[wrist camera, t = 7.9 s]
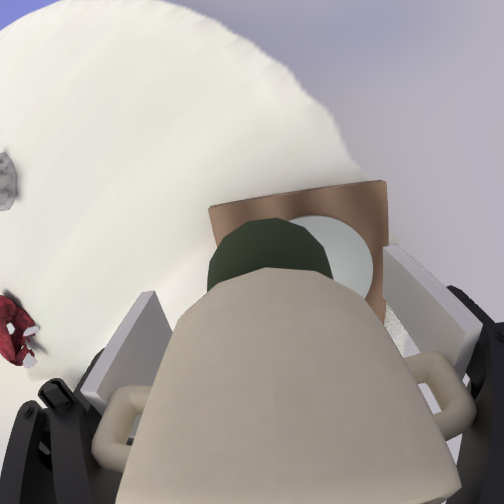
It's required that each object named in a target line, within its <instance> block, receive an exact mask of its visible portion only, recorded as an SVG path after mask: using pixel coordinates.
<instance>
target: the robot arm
mask: <svg viewBox="0 0 504 504" xmlns="http://www.w3.org/2000/svg"><path fill="white" fill-rule="evenodd" d="M383 298H384V299H385V300H386V302H387V303H388V305H389V306H390V307H391V309H392V310H393V312H394V313H395V315H396V316H397V318H398V319H399V320H400V322H401V323H402V325H403V326H404V328H405V329H406V331H407V332H408V334H409V335H410V337H411V338H412V340H413V341H414V343H415V344H416V346H417V347H418V349H419V351H420V352H421V353H423V352H426V351H439V352H440V353H441V354H442V355H444V356H445V357H446V358H447V359H448V360H449V362H450V363H451V365H452V366H453V368H454V369H455V371H456V372H457V374H458V375H459V377H460V378H461V380H463V378H464V376H465V373H466V374H467V375H468V376H469V378H470V380H469V383H468V385H467V389H468V391H469V392H470V394H471V395H472V397H473V399H474V401H475V406H476V410H477V413H476V416H475V419H474V422H473V424H472V426H471V427H470V428H469V429H468V430H467V431H466V432H464V433H463V434H462V440H461V445H460V451H459V456H458V461H457V465H456V467H457V470H458V474H459V478H460V482H461V486H462V487H461V488H460V489H459V490H458V491H457V492H456V493H454V494H453V495H452V496H451V497H449V498H448V499H447V501H446V504H504V322H500V323H495V322H494V321H493V320H492V319H491V318H490V317H489V316H488V315H487V314H486V313H485V312H484V311H483V310H482V309H481V308H480V307H479V306H478V305H477V304H475V303H474V301H473V300H472V299H469V297H468V296H467V295H466V294H465V293H464V292H463V291H462V290H460V289H458V288H456V287H454V286H452V285H450V286H447V287H445V286H444V285H443V284H442V283H441V282H440V281H439V280H438V279H437V278H435V277H434V276H433V275H432V274H431V273H430V272H429V271H428V270H427V269H425V268H424V267H423V266H422V265H421V264H420V263H419V262H417V261H416V260H415V259H414V258H413V257H412V256H410V255H409V254H408V253H407V252H406V251H405V250H403V249H402V248H401V247H400V246H399V245H397V244H395V245H390V246H385V247H383ZM172 334H173V332H172V330H171V328H170V326H169V323H168V321H167V319H166V317H165V314H164V312H163V310H162V307H161V305H160V303H159V300H158V298H157V295H156V293H155V290H154V291H148V292H142V293H141V294H140V296H139V297H138V298H137V300H136V301H135V303H134V304H133V306H132V307H131V309H130V310H129V312H128V313H127V315H126V316H125V318H124V319H123V321H122V322H121V324H120V325H119V327H118V329H117V330H116V332H115V333H114V335H113V336H112V338H111V340H110V341H109V343H108V344H107V346H106V347H105V348H103V349H102V350H101V351H100V352H99V353H98V354H97V355H96V356H95V357H94V359H93V360H92V362H91V365H89V367H88V369H87V370H86V371H87V372H85V373H84V375H83V377H82V378H81V380H80V382H79V384H78V385H77V387H76V389H75V390H74V392H73V393H72V391H71V390H70V389H69V388H68V386H67V385H66V384H65V382H64V381H63V380H62V379H61V378H54V379H51V380H49V381H47V382H46V383H45V384H44V385H43V386H42V387H41V388H40V390H39V392H38V396H39V398H40V399H41V400H42V401H43V402H44V404H45V405H46V406H47V407H48V408H45V409H42V407H41V406H40V405H39V404H38V403H37V402H36V401H33V400H30V401H27V402H25V403H24V404H23V405H22V406H21V408H20V409H19V411H18V413H17V416H16V419H15V422H14V425H13V428H12V432H11V435H10V439H9V442H8V446H7V450H6V454H5V458H4V462H3V467H2V471H1V477H0V504H115V502H116V497H117V493H118V490H119V486H120V483H121V479H122V476H123V473H120V472H116V471H112V470H108V469H105V468H103V467H101V466H100V465H99V464H98V463H97V461H96V460H95V458H94V457H93V455H92V454H91V448H92V440H93V437H94V435H95V433H96V430H97V428H98V426H99V423H100V421H101V419H102V416H103V414H104V412H105V410H106V408H107V405H108V403H109V401H110V399H111V397H112V395H113V394H114V393H115V392H116V390H117V389H118V388H119V387H123V386H129V385H135V386H151V387H152V386H153V383H154V380H155V378H156V375H157V372H158V370H159V367H160V364H161V362H162V359H163V356H164V354H165V351H166V349H167V346H168V344H169V341H170V339H171V336H172ZM141 417H142V414H139V415H137V416H136V418H135V420H134V423H133V426H132V429H131V432H130V435H129V437H128V440H127V443H126V445H129V446H132V444H133V441H134V438H135V435H136V432H137V429H138V426H139V423H140V420H141Z"/></svg>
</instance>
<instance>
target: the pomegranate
mask: <svg viewBox="0 0 504 504" xmlns="http://www.w3.org/2000/svg"><path fill="white" fill-rule="evenodd" d="M34 325H35V324H34V321H33V320H32V319H30V318H29V316H28V314H27V313H26V312H25V311H23V310H22V309H21V308H19V307H17V306H16V305H15V304H14V303H13V301H12V299H9V298H7V297H5V296H3V295H0V353H1V355H2V356H3V357H4V358H5V359H6V360H7V361H9V362H10V363H12V364H14V365H16V366H22V365H23V366H24V367H25V368H31V367H32V366H34V365H35V364H36V363H37V360H36V359H35V358H34V356H35V355H34V352H32V349H31V350H28V348H27V345H26V343H25V340H26V339H27V340H28V341H29V342H30V340H29V338H28V337H27V338H26V336H34V335H36V334H35V332H37V331H39V327H38V326H34ZM27 327H29V328H27ZM25 330H26V331H25ZM24 343H25V344H24ZM22 345H23V346H24V347H23V348H22V349H21V347H22ZM25 345H26V346H25Z"/></svg>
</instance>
